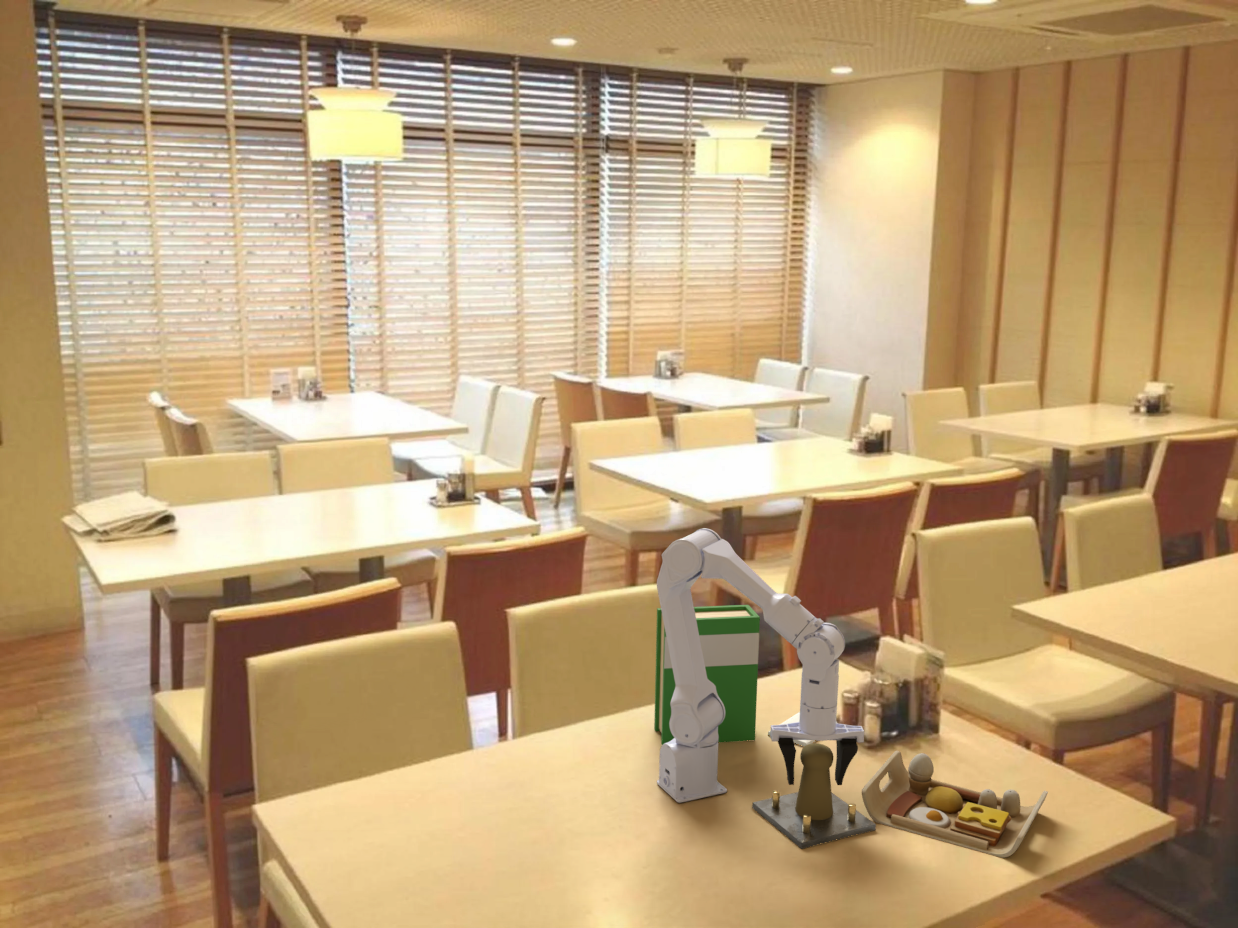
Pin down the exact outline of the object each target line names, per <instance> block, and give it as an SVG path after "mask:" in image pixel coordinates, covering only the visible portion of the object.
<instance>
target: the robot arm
mask: <svg viewBox="0 0 1238 928" xmlns="http://www.w3.org/2000/svg"><path fill="white" fill-rule="evenodd" d="M661 559H662V563H661V566H660V569H659V572H658V576H657V579H656V589H657V594H658V595H657V596H658V599H659V605H660V608H661V611H662V616H663V621H664V627H665V632H666V637H667V642H668V648H669V653H670V658H671V663H672V669H673V674H674V679H675V684H676V687H675V690H674V693H673V696H672V699H671V703H670V705H671V718H670V722H669V726H670V731H671V733H672V735H673V736H674V739H672V740H671V741H669V742H667V743H664V744H663V745H662V744H661V747H660V749H659V763H658V764H659V768H658V769H659V770H658V772H659V773H658V779H657V781H656V784H657V785H659V787H660V788H661V789H663V790H664V791H665V793H667V794H668V795H669V796H670V797H671V798H672V799H673V800H675V801H676V803H679V804H681V803H686V802H690V801H694V800H698V799H703V798H708V797H711V796H716V795H720V794H725V793H727V792H728V789H727V788H726V787H725V786H724V785H722V784H721V782H719V781H718V769H719V768H718V766H719V765H718V764H719V743H718V738H719V736H718V726H719V725H720V724H721V723H722V722H723V720H724V718H725V707H724V704H723V702H722V701H721V699H720V698H719V696H718V694H717V691H716V686H715V685H714V684H713V683H712V682H711V681H709V680H708V679H707V674H706V669H705V664H704V658H703V653H702V648H701V642H700V637H699V632H698V627H697V621H696V616H695V611H694V607H695V606H694V602H693V595H692V591H691V588H692V587H693V585H694V584H695V583H696V582H697V580H698V579H699V578H700V577H701V579H713V580H714V579H716V580H717V579H721V580H724V581H726V583H728V584H730V585H731V586H732V587H733V588H735V589H736V590H737V591H739V592H740V593H741V594H742V595H743V596H745V597H746V598H748V600H749V601H751V602H752V603H754V604H755V605H756V606H758V607H759V608H760V609H761V610H762V613H763V621H764V622H766V623H767V624H768V625H769V626H770V627H771V628H772V629H773V630H774V631H776V632H777V634H779V635H780V637H782V638H783V639H784V640H786V641H787V642H788V643H789V644H790V645H791V646H793V647H794V648H795V649H796V653H797V657H798V660H799V661H800V662H801V664H802V670H801V671H802V672H801V680H800V681H801V683H800V685H801V686H800V700H799V701H800V702H799V704H800V705H799V712H800V719H799V722H796V723H789V724H782V725H780V724H773V725H772V724H771V725H770V730H771V731H770V730H769V731H770V736H769V737H770V739H771V742H777V744H778V746H779V749H780V752H781V754H782V756H783V760H784V763H785V770H786V776H787V777H786V780H787V782H788V785H789V786H790V785H791V786H792V785H793V786H794V784H795V760H796V753H797V749H796V746H795V744H794V741H793V740H816V741H815V742H817V741H818V742H819V741H820V742H825V741H836V743H835V744H836V761H835V769H834V771H835V772H834V780H835V783H836V785H837V786H842V785H843V781H844V777H845V775H846V772H847V769H848V767H849V766H850V764H851V762H852V761H853V759H854V757H855V756H856V755H857V753H858V750H859V746H858V744H857V743H865V730H864V728H863V726H862V725H850V724H846V723H845V724H844V723H838V722H837V714H838V713H837V712H838V697H839V696H838V695H839V677H840V676H839V675H840V674H839V668H840V660H839V659H838V658H839V657H840V656H841V655H842V653H843V652H844V650H845V649H846V648H845V647H846V640H845V637H844V634H843V633H842V632H841V630H840V629H839V628H838V626H837V625H836V624H833V623H831V622H824V620H822V619H821V618H820V617H819V618H817V617H816V616H814V615H813V614H812V613H811V611H809V610H808V609H807V608H805V607H804V606H803V605H802V604H801V602H802V600H801V599H800V598H799V597H798V596H797V595H793V596H792V595H790V594H789V593H779V592H776V591H775V590H774V589H773V588H772V587H771V586H770V585H769V584H768V583H767V582H765V581H764V579H762V578H761V577H760V575H759V574H757V573H756V572H755V571H754V570H753V569H752V568H751V566H749V565H748V564H747V563H746V562H745V561H744V560H743V559H742V558H741V557H740V556H739V555H738V554H737V553H736V552H735V550H734V548H733V547H732V545H731V544H730V543H729V541H727V540H725V539H724V538H721V536H720V535H719V534H718V533H717V532H716V531H714V530H713V529H710V528H705V527H703V528H699V529H697V530H695V531H694V532H693V533H691V534H687V536H684V537H682V538H679V539H676V540H674V541H672V542H671V544H669V546H668V547H667V548H666V549H665V550H664V551H663V552H662V553H661ZM836 722H837V723H836Z"/></svg>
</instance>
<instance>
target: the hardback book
mask: <svg viewBox="0 0 1238 928" xmlns="http://www.w3.org/2000/svg"><path fill="white" fill-rule="evenodd" d="M694 611H695V616H696V621H697V627H698V632H699V637H700V642H701V648H702V653H703V658H704V664H705V669H706V674H707V679H708V680H709V681H711V682H712V683H713V684H714V685H715V686H716V691H717V694H718V696H719V698H720V699H721V701H722V702H723V704H724V707H725V718H724V720H723V722H722V723H721V724H720V725H719V726H718V736H719V738H718V742H720V743H732V742H733V743H735V742H749V740H754V741H755V740H756V728H757V727H756V724H757V722H756V721H757V719H756V718H757V700H758V699H757V697H758V675H759V674H758V672H759V670H758V669H759V652H760V651H759V647H760V622H761V620H760V619H761V616H759V615H758V614H757V612H756V611H755V610H754V608H752V607H751V606H750V605H749V604H735V605H734V604H733V605H732V604H731V605H730V604H729V605H710V606H706V605H705V606H694ZM655 631H656V635H655V636H656V637H655V638H656V641H655V642H656V643H655V674H654V675H655V677H654V678H655V680H654V681H655V683H654V684H655V686H654V723H653V724H654V726H653V727H654V728H653V729H654V732H660V733H661V739H660V741H661V746H662V745H663V744H664V743H667V742H669V741H671V740H672V739H674V736H673V735H672V733H671V731H670V726H669V722H670V718H671V705H670V703H671V699H672V696H673V693H674V690H675V687H676V684H675V679H674V674H673V669H672V663H671V658H670V653H669V648H668V642H667V637H666V632H665V627H664V621H663V616H662V611H661V607H657V608H656V630H655ZM747 740H748V741H747Z"/></svg>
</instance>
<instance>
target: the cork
mask: <svg viewBox="0 0 1238 928" xmlns="http://www.w3.org/2000/svg"><path fill="white" fill-rule="evenodd" d="M802 747H803V746H802ZM799 758H800V762H801V764H802V765H803V766H802V771H801V775H800V781H799V787H798V791H797V792H798V797H797V802H796V807H795V810H796V812H797V813H798V814H799V815H800V816H802V817H803V815H805V814H808V815H810V816H811V819H813V820H823V819H827V818H829V817H831V816H832V815H833V805H832V793H833V792H832V786H831V785H832V784H831V772H830V768H831V767H832V765H833V763H834V753H833V751H832V749H831V748H830V747H829V746H828V745H825V744H822V743H816V742H814V743H812V744H808V745H806V746H804V747H803V748H802V749H801V752H800V756H799ZM831 792H832V793H831Z"/></svg>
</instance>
